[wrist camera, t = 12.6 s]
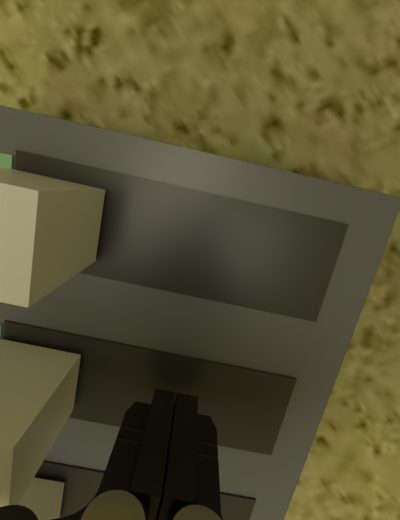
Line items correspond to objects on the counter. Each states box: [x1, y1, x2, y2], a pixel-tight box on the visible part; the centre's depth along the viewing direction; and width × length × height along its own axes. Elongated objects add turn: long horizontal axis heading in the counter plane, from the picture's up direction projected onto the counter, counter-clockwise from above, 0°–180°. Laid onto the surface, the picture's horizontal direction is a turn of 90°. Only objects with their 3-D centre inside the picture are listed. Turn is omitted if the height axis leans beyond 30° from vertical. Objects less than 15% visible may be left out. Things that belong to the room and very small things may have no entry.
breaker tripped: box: [0, 339, 81, 507], centre depth 9 cm, size 3×2×4 cm
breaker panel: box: [0, 105, 400, 520], centre depth 13 cm, size 14×18×3 cm
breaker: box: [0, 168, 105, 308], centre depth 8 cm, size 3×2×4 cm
